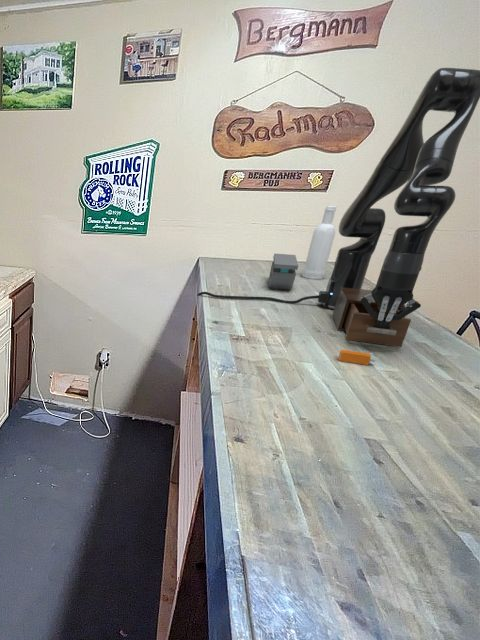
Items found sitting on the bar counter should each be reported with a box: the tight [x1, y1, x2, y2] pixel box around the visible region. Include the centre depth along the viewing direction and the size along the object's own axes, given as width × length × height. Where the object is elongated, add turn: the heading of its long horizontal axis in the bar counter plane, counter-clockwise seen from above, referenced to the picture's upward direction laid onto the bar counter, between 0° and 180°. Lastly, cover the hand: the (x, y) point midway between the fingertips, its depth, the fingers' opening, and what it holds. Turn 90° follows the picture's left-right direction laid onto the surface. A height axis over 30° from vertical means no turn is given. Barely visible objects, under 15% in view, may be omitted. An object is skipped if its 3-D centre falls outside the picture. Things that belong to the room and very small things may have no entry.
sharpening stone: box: [267, 253, 299, 291], centre depth 187 cm, size 25×8×11 cm, turn 151°
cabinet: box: [332, 287, 406, 332], centre depth 140 cm, size 17×14×10 cm
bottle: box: [301, 205, 337, 280], centre depth 197 cm, size 8×8×30 cm
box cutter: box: [338, 349, 376, 366], centre depth 116 cm, size 7×2×2 cm, turn 61°
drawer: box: [343, 303, 412, 348], centre depth 129 cm, size 20×12×8 cm, turn 151°
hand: (378, 333), depth 123 cm, fingers closed
